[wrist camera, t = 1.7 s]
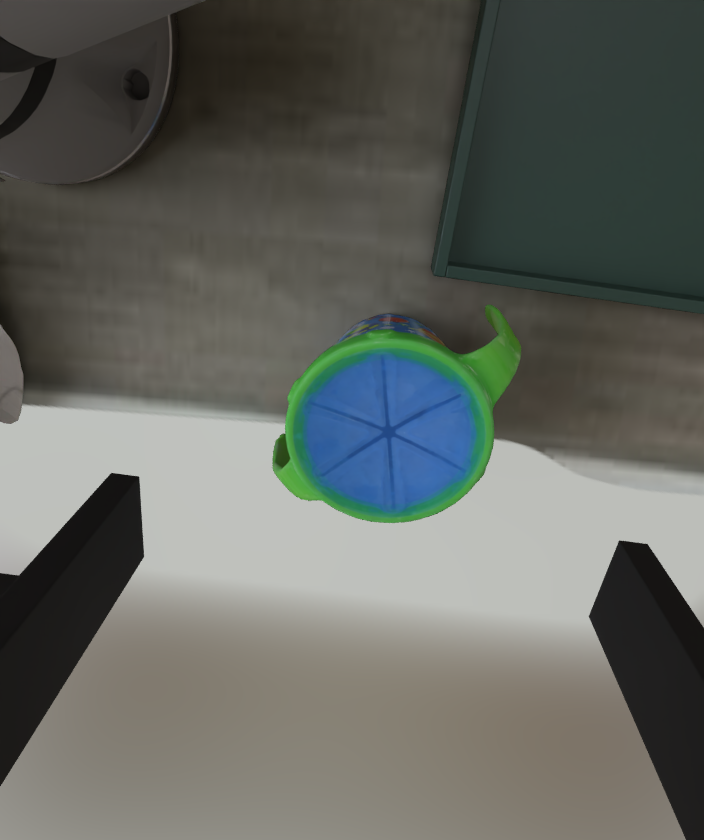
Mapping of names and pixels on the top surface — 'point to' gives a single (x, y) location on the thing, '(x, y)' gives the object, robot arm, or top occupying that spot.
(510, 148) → the tray
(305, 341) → the top surface
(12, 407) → the mask
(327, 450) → the sippy cup
